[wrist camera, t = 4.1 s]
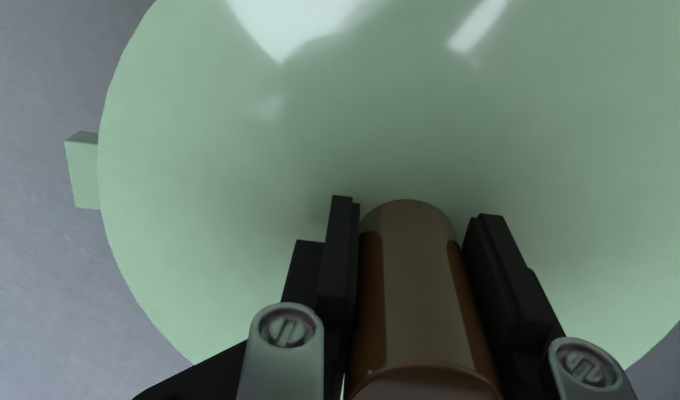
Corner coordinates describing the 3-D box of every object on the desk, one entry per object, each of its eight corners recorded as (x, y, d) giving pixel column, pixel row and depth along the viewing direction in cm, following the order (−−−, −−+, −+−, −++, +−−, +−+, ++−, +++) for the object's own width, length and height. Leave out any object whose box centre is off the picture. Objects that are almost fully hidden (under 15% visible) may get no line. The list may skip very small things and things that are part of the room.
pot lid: (68, -172, 10) (-382, -349, 4) (874, -73, 10) (1626, -102, 4) (144, 382, 18) (33, 594, 12) (584, 437, 18) (687, 676, 12)
